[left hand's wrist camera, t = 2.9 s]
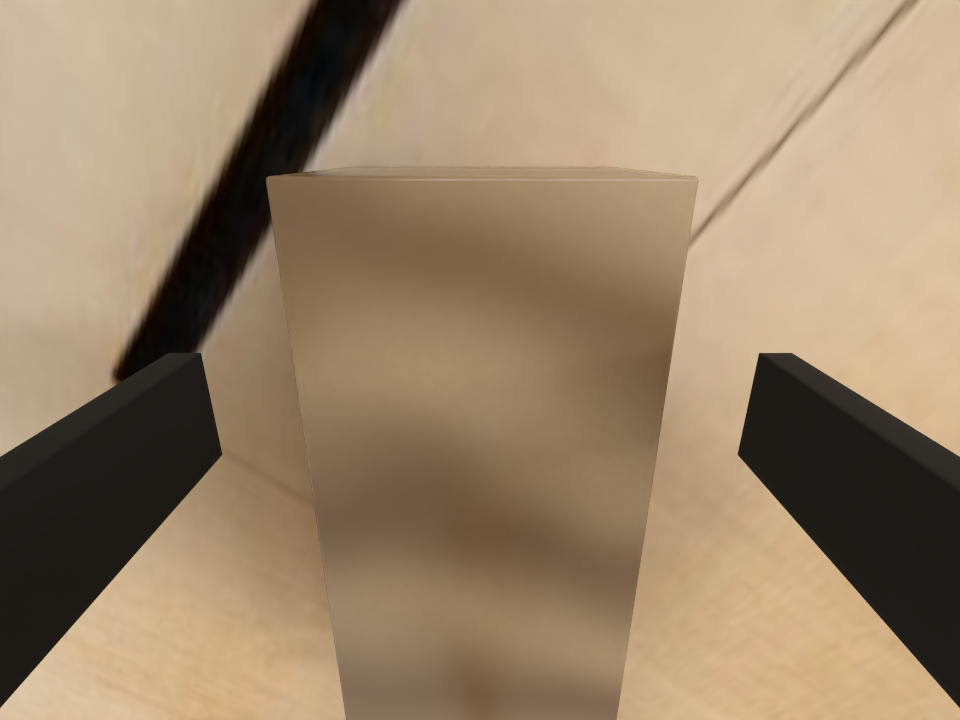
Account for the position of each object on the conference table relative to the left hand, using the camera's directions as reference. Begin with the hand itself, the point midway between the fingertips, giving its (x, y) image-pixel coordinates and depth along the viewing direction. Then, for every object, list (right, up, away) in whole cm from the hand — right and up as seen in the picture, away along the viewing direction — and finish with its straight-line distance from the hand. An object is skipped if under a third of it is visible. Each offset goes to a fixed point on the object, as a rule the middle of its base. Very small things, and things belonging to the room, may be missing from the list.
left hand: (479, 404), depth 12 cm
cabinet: (0, -2, +11) cm, 11 cm away
